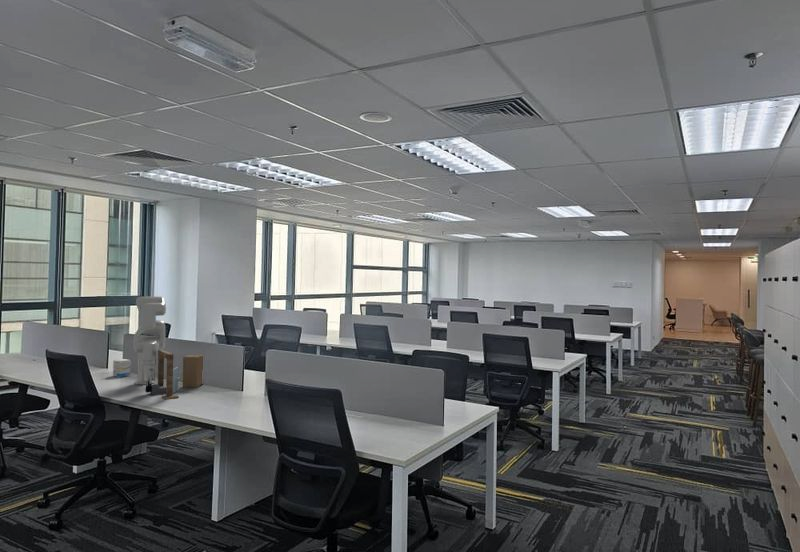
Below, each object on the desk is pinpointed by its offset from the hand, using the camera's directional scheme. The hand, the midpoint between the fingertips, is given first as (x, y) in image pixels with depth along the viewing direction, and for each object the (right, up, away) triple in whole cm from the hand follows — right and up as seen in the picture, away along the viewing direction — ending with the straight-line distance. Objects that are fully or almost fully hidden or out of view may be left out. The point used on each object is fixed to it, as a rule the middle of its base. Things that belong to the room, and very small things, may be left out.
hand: (148, 392), depth 332 cm
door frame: (+9, -2, +2) cm, 9 cm away
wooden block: (+17, -2, +28) cm, 33 cm away
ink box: (-46, -1, +57) cm, 73 cm away
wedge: (+6, -1, +5) cm, 8 cm away
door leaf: (+14, -1, +3) cm, 15 cm away
